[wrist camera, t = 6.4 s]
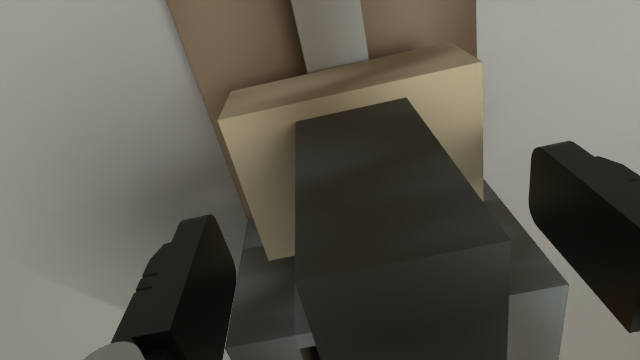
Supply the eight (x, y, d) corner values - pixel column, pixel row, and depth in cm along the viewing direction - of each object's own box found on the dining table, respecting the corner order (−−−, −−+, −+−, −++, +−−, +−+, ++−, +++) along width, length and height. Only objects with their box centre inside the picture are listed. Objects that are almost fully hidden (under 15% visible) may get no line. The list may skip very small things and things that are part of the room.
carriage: (449, 41, 12) (671, 178, 5) (456, 178, 15) (612, 404, 8) (231, 91, 13) (143, 284, 5) (272, 216, 15) (250, 464, 8)
